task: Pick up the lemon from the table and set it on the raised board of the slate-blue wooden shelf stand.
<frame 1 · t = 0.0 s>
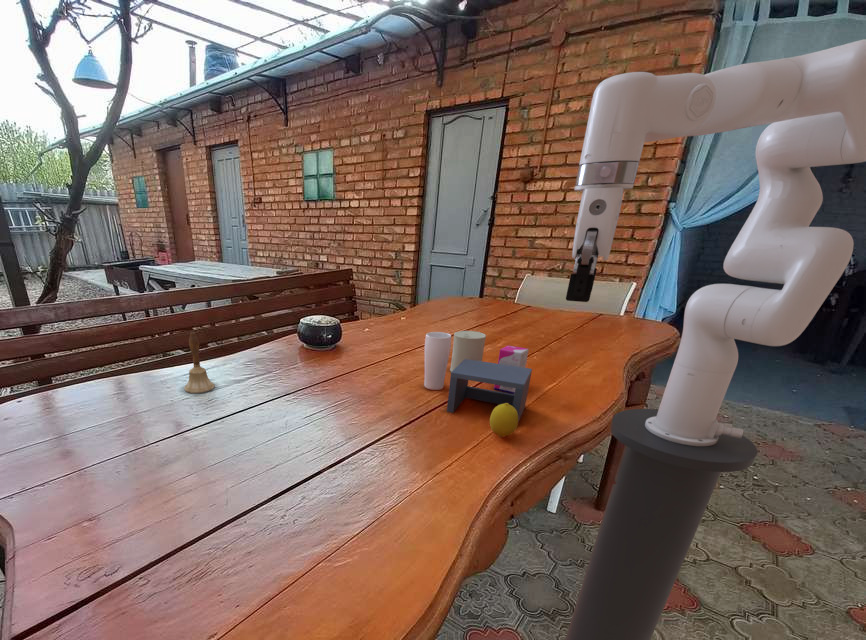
hand: (578, 296, 69), 31 cm above the table, tool pointing down, fingers open, 9 cm apart
supplement box: (507, 389, 117), on the table
drinking glass: (433, 388, 118), on the table
hand bell: (199, 388, 120), on the table
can: (465, 371, 130), on the table
shelf: (486, 409, 104), on the table
lemon: (500, 437, 91), on the table
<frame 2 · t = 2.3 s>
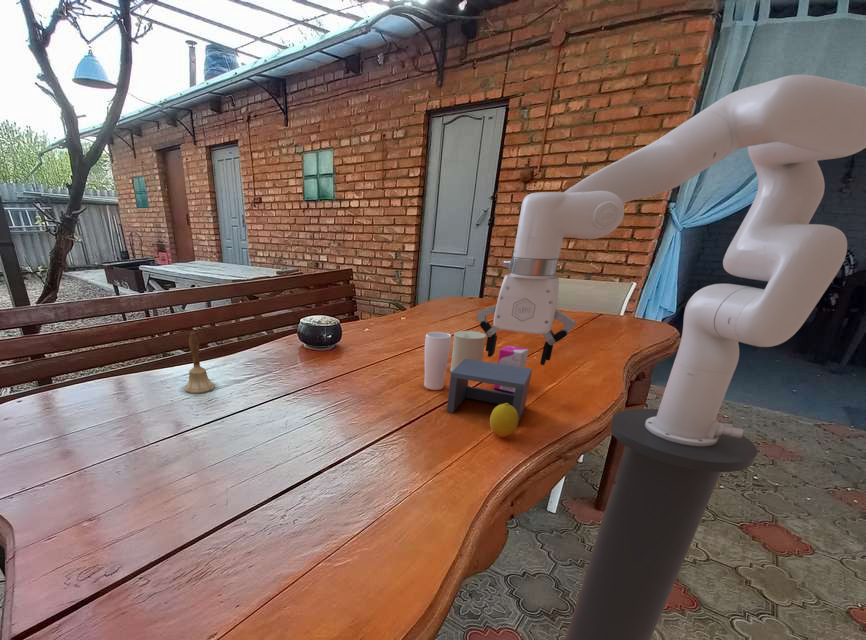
hand: (516, 359, 83), 18 cm above the table, tool pointing down, fingers open, 9 cm apart
nothing on the table moved.
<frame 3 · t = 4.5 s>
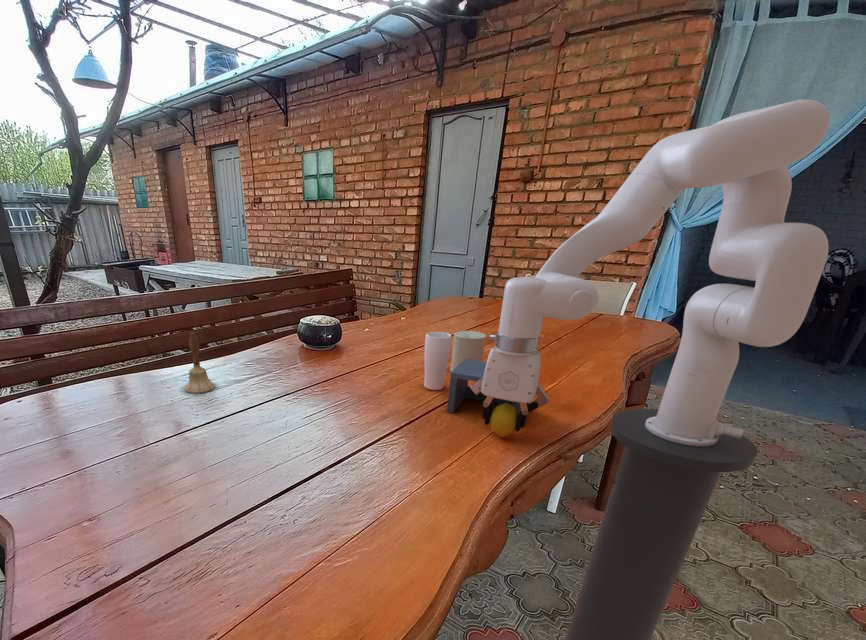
hand: (502, 425, 90), 3 cm above the table, tool pointing down, fingers closed on lemon, 5 cm apart
lemon: (500, 437, 91), on the table, touching gripper
everything else where it was.
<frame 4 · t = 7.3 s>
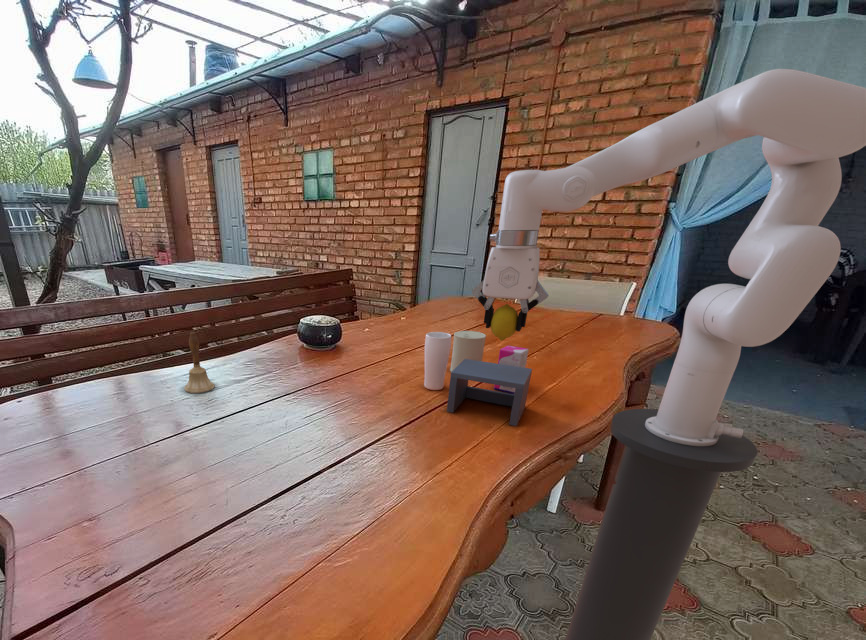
hand: (503, 327, 93), 21 cm above the table, tool pointing down, fingers closed on lemon, 5 cm apart
lemon: (501, 341, 94), point 18 cm above the table, touching gripper
everything else where it was.
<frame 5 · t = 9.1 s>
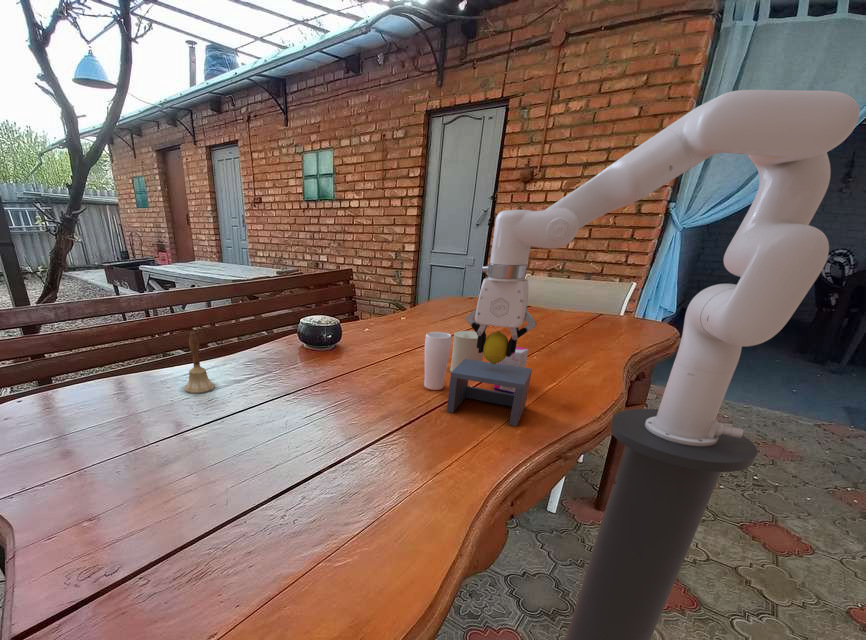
hand: (495, 352, 98), 15 cm above the table, tool pointing down, fingers closed on lemon, 5 cm apart
lemon: (493, 365, 100), point 11 cm above the table, touching gripper
everything else where it was.
when the fingers open (13 cm above the table, at t = 10.1 s): lemon stays where it is, resting on shelf.
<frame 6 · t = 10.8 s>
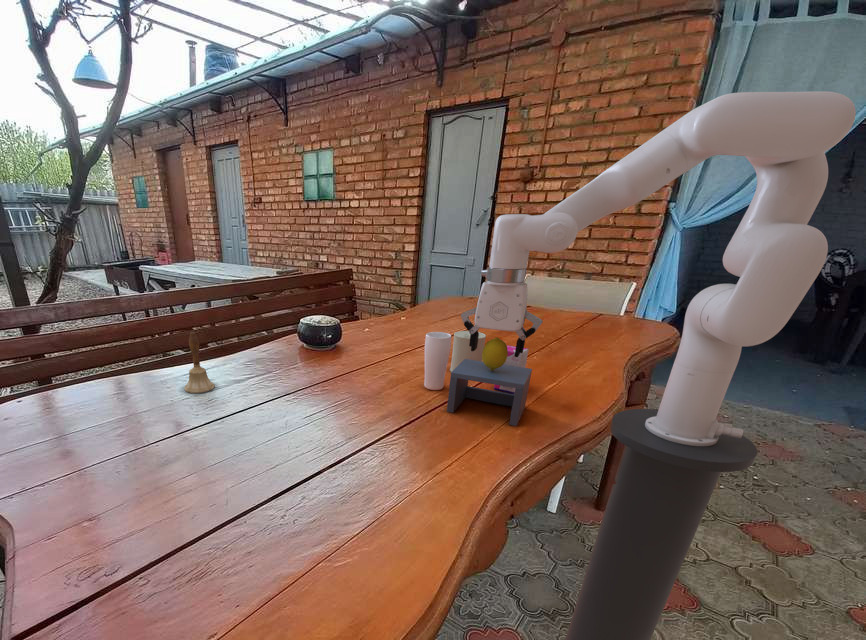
hand: (494, 352, 98), 15 cm above the table, tool pointing down, fingers open, 9 cm apart
lemon: (492, 371, 100), point 10 cm above the table, touching shelf
everything else where it was.
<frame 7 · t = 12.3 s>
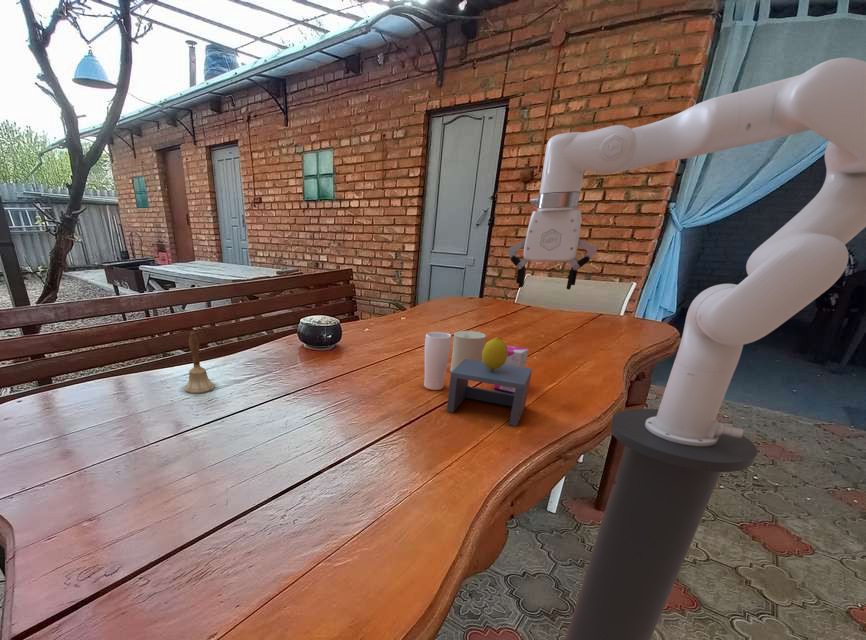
hand: (544, 287, 95), 29 cm above the table, tool pointing down, fingers open, 9 cm apart
nothing on the table moved.
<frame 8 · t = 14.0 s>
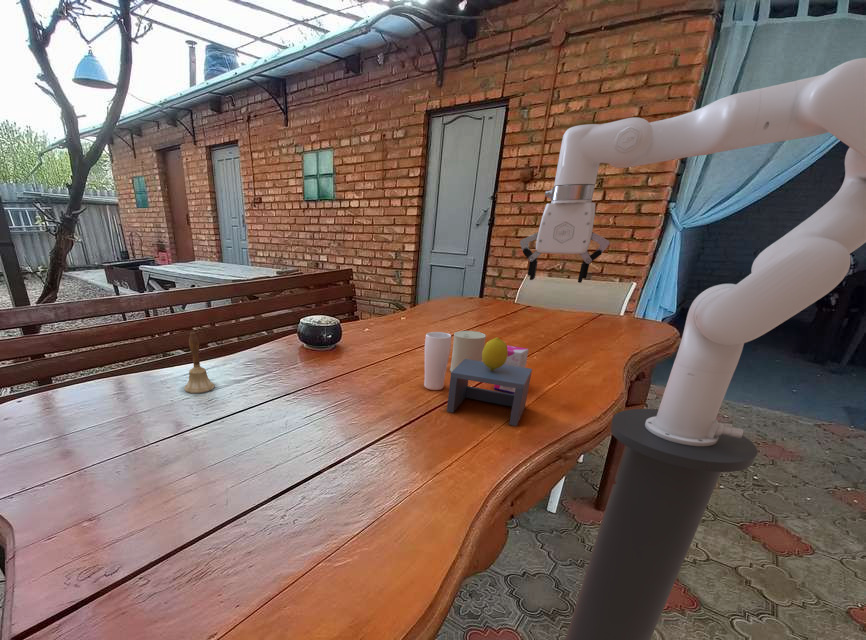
hand: (555, 280, 95), 30 cm above the table, tool pointing down, fingers open, 9 cm apart
nothing on the table moved.
at the end: lemon inside the target area on the shelf (0.1 cm from its centre), point 10.0 cm above the shelf's base; the gripper is holding nothing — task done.
